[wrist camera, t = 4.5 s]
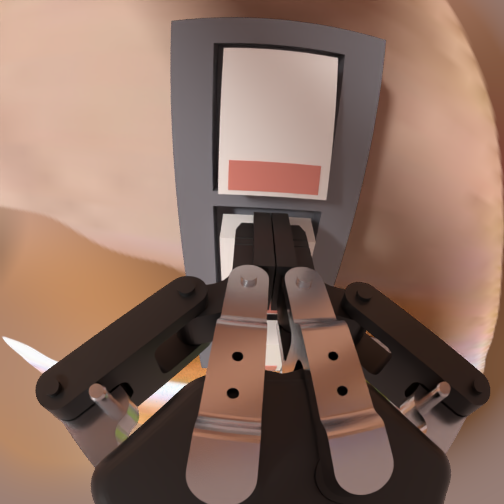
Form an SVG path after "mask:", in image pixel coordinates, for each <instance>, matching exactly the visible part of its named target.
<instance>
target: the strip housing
mask: <svg viewBox="0 0 504 504" xmlns="http://www.w3.org/2000/svg"><path fill="white" fill-rule="evenodd" d="M385 45H386V40H384V39H380V38H377V37H373V36H370V35H366V34H362V33H358V32H354V31H350V30H345V29H340V28H336V27H330V26H325V25H319V24H313V23H306V22H298V21H290V20H280V19H267V18H243V17H222V18H198V19H186V20H176V21H171V115H172V138H173V155H174V169H175V182H176V194H177V205H178V215H179V224H180V233H181V241H182V250H183V257H184V265H185V272H186V276H194V277H197V278H199V279H201V280H203V281H204V282H205V284H206V285H208V284H213V283H217V282H220V281H222V278H221V258H220V232H221V225H222V219H223V214H240V215H253V214H254V212H267V213H270V214H271V213H287V214H288V216H289V217H297V218H311V223H312V227H313V232H314V236H315V241H316V243H315V247H314V251H313V255H312V260H313V264H314V269H315V271H316V272H318V273H319V274H320V275H321V277H322V279H323V281H324V283H326V284H328V285H330V286H333V287H334V283H335V280H336V277H337V274H338V271H339V268H340V264H341V261H342V258H343V255H344V251H345V248H346V244H347V241H348V237H349V234H350V230H351V226H352V223H353V219H354V215H355V211H356V208H357V204H358V200H359V196H360V191H361V187H362V183H363V179H364V174H365V170H366V165H367V161H368V156H369V151H370V146H371V141H372V136H373V131H374V125H375V119H376V113H377V107H378V101H379V94H380V88H381V80H382V72H383V64H384V55H385ZM224 48H258V49H274V50H285V51H295V52H303V53H310V54H317V55H324V56H329V57H335V58H338V72H337V92H336V108H335V121H334V133H333V144H332V155H331V164H330V173H329V182H328V190H327V198H326V200H317V199H304V198H290V197H273V196H255V195H231V194H218V171H219V135H220V108H221V87H222V68H223V52H224ZM277 318H278V316H277V314H267V320H277ZM212 342H213V341H212ZM212 342H211V343H210V345H209V346H208V347H207V348H206V349H205V350H204V351H203V352H201V353H200V354H199V356H200V361H201V366H202V368H207V367H208V362H209V357H210V352H211V347H212ZM280 371H282V367H281V369H280Z"/></svg>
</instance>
